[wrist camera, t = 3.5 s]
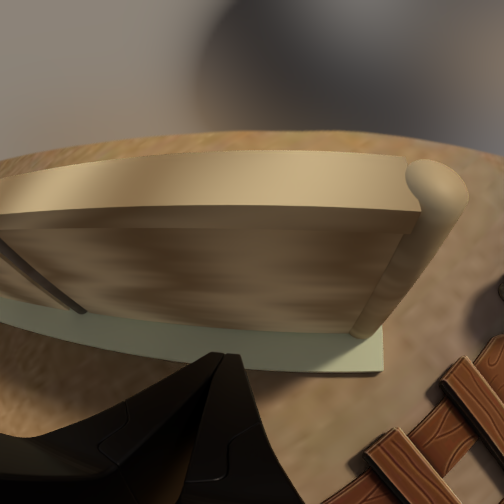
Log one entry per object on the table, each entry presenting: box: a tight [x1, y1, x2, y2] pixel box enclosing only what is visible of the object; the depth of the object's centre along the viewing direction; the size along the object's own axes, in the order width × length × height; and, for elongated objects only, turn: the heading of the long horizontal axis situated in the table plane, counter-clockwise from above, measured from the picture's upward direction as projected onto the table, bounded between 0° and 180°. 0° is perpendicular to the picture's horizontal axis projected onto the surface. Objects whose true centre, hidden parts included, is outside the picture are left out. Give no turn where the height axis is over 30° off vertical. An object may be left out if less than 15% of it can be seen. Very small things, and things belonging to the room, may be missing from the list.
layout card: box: [0, 297, 384, 373], centre depth 19 cm, size 30×12×1 cm, turn 84°
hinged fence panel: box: [0, 150, 469, 339], centre depth 12 cm, size 16×2×10 cm, turn 84°
